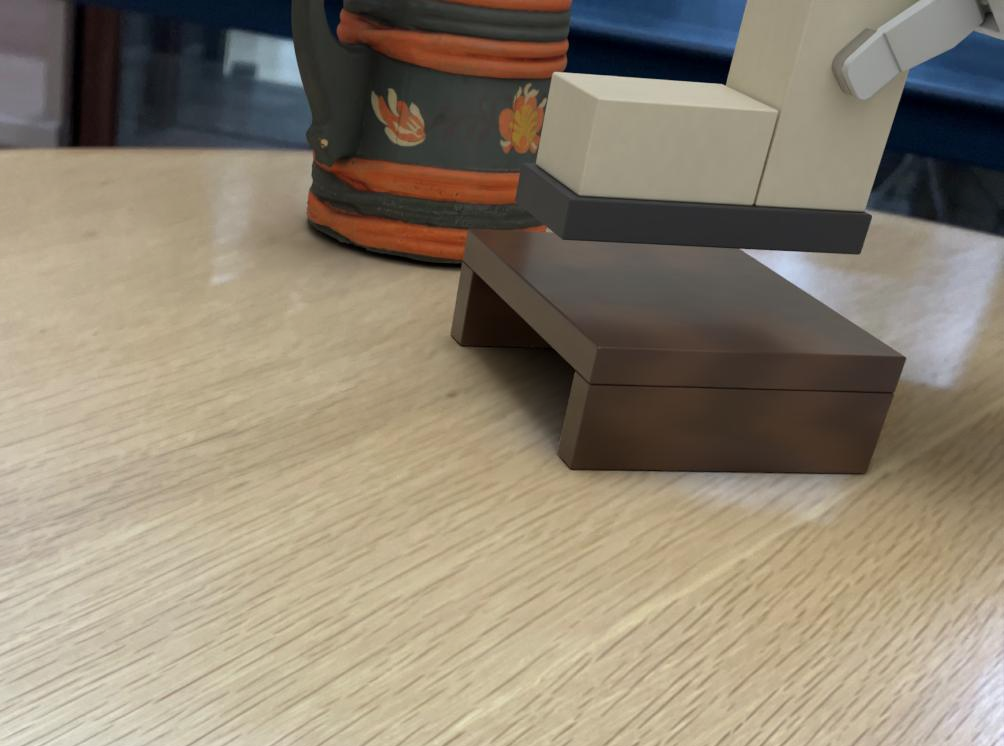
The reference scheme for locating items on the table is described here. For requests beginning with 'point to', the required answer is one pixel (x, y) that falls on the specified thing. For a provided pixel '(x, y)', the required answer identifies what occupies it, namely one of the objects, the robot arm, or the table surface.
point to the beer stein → (425, 117)
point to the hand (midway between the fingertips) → (804, 67)
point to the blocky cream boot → (723, 143)
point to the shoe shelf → (681, 354)
